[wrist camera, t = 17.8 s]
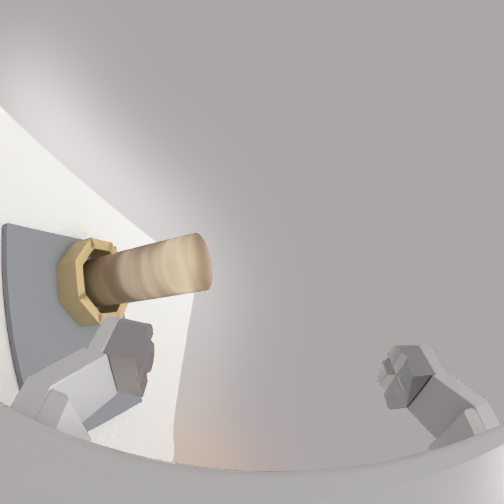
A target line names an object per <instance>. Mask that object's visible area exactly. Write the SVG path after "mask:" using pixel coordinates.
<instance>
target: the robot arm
mask: <svg viewBox="0 0 504 504" xmlns="http://www.w3.org/2000/svg"><path fill="white" fill-rule="evenodd" d="M152 335H153V329H152V325H151V324H147V323H142V322H137V321H132V320H128V319H123V318H117V317H113V316H109V315H108V316H106V317H105V318H104V320H103V321H102V323H101V325H100V326H99V328H98V330H97V332H96V333H95V335H94V337H93V339H92V340H91V342H90V344H89V346H88V348H81V349H79V350H78V351H76V352H74V353H72V354H70V355H68V356H67V357H65V358H63V359H61V360H59V361H57V362H55V363H54V364H52V365H50V366H48V367H46V368H44V369H42V370H41V371H39V372H37V373H35V374H33V375H31V376H29V377H28V378H27V379H26V381H25V383H24V384H23V386H22V388H21V390H20V391H19V393H18V395H17V397H16V398H15V400H14V402H13V404H12V406H11V407H8V406H6V405H5V404H3V403H1V402H0V504H504V423H503V424H501V425H500V424H499V422H498V420H497V418H496V416H495V414H494V412H493V411H492V409H491V407H490V405H489V403H488V402H487V401H486V400H484V399H483V398H481V397H480V396H479V395H477V394H476V393H475V392H473V391H472V390H470V389H469V388H468V387H466V386H465V385H463V384H462V383H461V382H459V381H458V380H457V379H455V378H454V377H452V376H451V375H450V374H445V372H444V370H443V369H442V367H441V365H440V364H439V362H438V360H437V358H436V357H435V355H434V353H433V352H432V350H431V348H430V347H429V346H428V345H426V344H424V345H397V346H393V347H391V348H390V350H389V352H388V358H387V359H386V360H385V361H383V362H382V364H381V366H380V368H379V372H378V381H379V384H380V386H381V387H382V388H383V389H384V390H385V394H384V397H385V400H386V403H387V405H388V408H389V409H399V408H407V409H408V410H409V411H410V412H411V413H412V414H413V415H414V416H415V417H416V418H417V419H418V420H419V421H420V422H421V424H422V425H423V426H424V427H425V428H426V429H427V430H428V431H429V432H430V433H431V434H432V435H433V436H434V437H435V438H436V440H435V441H434V442H433V443H431V444H430V446H429V447H428V450H429V451H426V452H422V453H418V454H414V455H410V456H407V457H402V458H397V459H393V460H388V461H383V462H377V463H371V464H365V465H358V466H351V467H343V468H334V469H322V470H307V471H242V470H227V469H217V468H208V467H199V466H191V465H185V464H179V463H173V462H167V461H162V460H157V459H152V458H148V457H143V456H139V455H135V454H131V453H127V452H123V451H119V450H116V449H112V448H109V447H105V446H102V445H99V444H96V443H93V442H90V441H91V438H90V436H89V434H88V432H87V431H86V429H85V427H84V425H83V424H82V422H84V421H85V420H86V419H87V418H88V417H90V416H91V415H92V414H93V413H95V412H96V411H97V410H98V409H99V408H101V407H102V406H103V405H104V404H105V403H107V402H108V401H109V400H110V399H111V398H113V397H114V396H115V395H116V394H117V393H118V392H121V393H126V394H131V395H135V396H141V397H143V394H144V391H145V388H146V384H147V375H146V374H147V373H148V372H150V371H151V368H152V365H153V359H154V343H153V342H152V341H151V338H152Z"/></svg>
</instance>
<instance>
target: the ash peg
mask: <svg viewBox="0 0 504 504" xmlns="http://www.w3.org/2000/svg"><path fill="white" fill-rule="evenodd" d="M83 275H84V285H85V294H86V296H87V297H88V298H89V299H90V301H91V302H92V303H93V304H94V306H95V307H101V306H108V305H115V304H122V303H129V302H136V301H143V300H149V299H156V298H162V297H168V296H175V295H181V294H187V293H193V292H199V291H205V290H208V289H209V288H210V286H211V283H212V264H211V259H210V255H209V251H208V248H207V246H206V243H205V241H204V240H203V238H202V237H201V236H200V235H199V234H198V233H193V234H189V235H185V236H181V237H177V238H173V239H168V240H165V241H160V242H156V243H152V244H148V245H144V246H140V247H136V248H133V249H129V250H125V251H121V252H117V253H113V254H109V255H106V256H102V257H98V258H94V259H91V260H87V261H85V263H84V264H83Z"/></svg>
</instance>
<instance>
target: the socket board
mask: <svg viewBox="0 0 504 504" xmlns="http://www.w3.org/2000/svg"><path fill="white" fill-rule="evenodd" d="M113 253H117V251H116V247H114V246H113V244H112V243H111V242H106V241H102V240H97V239H93V238H89V239H86V240H81V239H76V238H72V237H67V236H63V235H58V234H53V233H49V232H44V231H40V230H36V229H31V228H27V227H22V226H18V225H14V224H9V223H7V224H5V225H3V228H2V275H3V292H4V304H5V313H6V321H7V329H8V335H9V341H10V347H11V352H12V357H13V362H14V367H15V371H16V376H17V380H18V384H19V387H20V390H21V388H22V386H23V384H24V383H25V381H26V379H27V378H28V377H29V376H31V375H33V374H35V373H37V372H39V371H41V370H42V369H44V368H46V367H48V366H50V365H52V364H54V363H55V362H57V361H59V360H61V359H63V358H65V357H67V356H68V355H70V354H72V353H74V352H76V351H78V350H79V349H81V348H88V346H89V344H90V342H91V340H92V339H93V337H94V335H95V333H96V332H97V330H98V328H99V326H100V325H101V323H102V321H103V320H104V318H105V317H106V316H108V315H109V316H113V317H117V318H123V319H125V317H124V312H125V309H126V307H127V304H128V303H122V304H115V305H108V306H101V307H95V306H94V304H93V303H92V302H91V301H90V299H89V298H88V297H87V296H86V294H85V285H84V275H83V264H84V263H85V261H87V260H91V259H94V258H98V257H102V256H106V255H109V254H113ZM141 401H142V399H141V396H135V395H131V394H126V393H121V392H118V393H117V394H116V395H115V396H114V397H113V398H111V399H110V400H109V401H108V402H107V403H105V404H104V405H103V406H102V407H101V408H99V409H98V410H97V411H96V412H95V413H93V414H92V415H91V416H90V417H88V418H87V419H86V420H85V421H84V422H82V424H83V425H84V427H85V429H86V431H87V432H88V431H90V430H91V429H93V428H95V427H97V426H99V425H101V424H103V423H104V422H106V421H108V420H110V419H112V418H113V417H115V416H117V415H119V414H121V413H122V412H124V411H126V410H128V409H129V408H131V407H133V406H134V405H136V404H138V403H140V402H141Z"/></svg>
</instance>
